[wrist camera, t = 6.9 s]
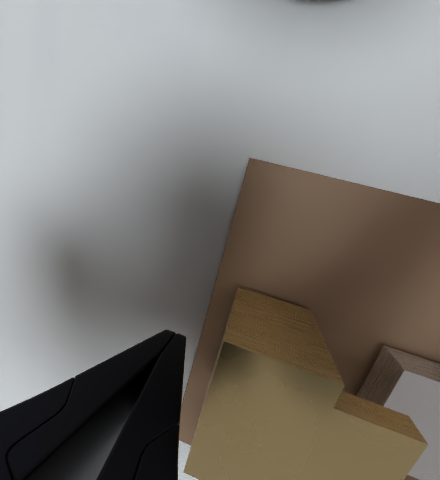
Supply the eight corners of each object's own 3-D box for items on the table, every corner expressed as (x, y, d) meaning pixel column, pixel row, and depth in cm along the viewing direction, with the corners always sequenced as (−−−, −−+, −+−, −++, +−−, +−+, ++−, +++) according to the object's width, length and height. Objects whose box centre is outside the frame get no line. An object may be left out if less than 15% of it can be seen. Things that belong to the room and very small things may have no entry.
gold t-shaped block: (377, 332, 8) (461, 428, 5) (328, 427, 9) (366, 557, 6) (238, 286, 9) (223, 341, 5) (209, 380, 10) (183, 472, 6)
